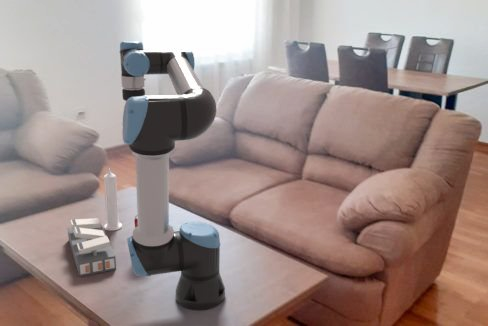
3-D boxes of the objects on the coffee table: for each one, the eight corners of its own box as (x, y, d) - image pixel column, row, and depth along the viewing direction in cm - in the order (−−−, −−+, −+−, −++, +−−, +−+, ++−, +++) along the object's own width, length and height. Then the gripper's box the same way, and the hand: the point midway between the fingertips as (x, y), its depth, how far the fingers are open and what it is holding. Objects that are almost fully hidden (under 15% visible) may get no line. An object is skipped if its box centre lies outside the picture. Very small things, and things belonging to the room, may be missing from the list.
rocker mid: (104, 240, 174) (105, 235, 173) (75, 237, 169) (76, 232, 169) (101, 234, 178) (102, 230, 178) (73, 231, 173) (74, 226, 173)
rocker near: (110, 245, 166) (109, 241, 165) (79, 254, 162) (78, 249, 161) (107, 239, 170) (106, 235, 169) (77, 247, 166) (76, 243, 165)
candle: (126, 226, 198) (122, 167, 190) (112, 232, 192) (108, 172, 184) (113, 221, 201) (109, 163, 194) (100, 228, 196) (95, 168, 188)
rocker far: (100, 227, 181) (100, 223, 181) (72, 229, 177) (72, 224, 176) (98, 222, 186) (98, 217, 185) (70, 223, 181) (70, 219, 181)
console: (116, 270, 166) (115, 252, 164) (79, 277, 161) (77, 259, 159) (101, 234, 190) (100, 219, 188) (68, 240, 185) (67, 224, 183)
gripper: (149, 90, 163) (152, 158, 170) (139, 84, 174) (142, 148, 181) (126, 91, 160) (130, 161, 167) (118, 85, 171) (122, 150, 178)
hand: (136, 154), depth 174 cm, fingers closed
